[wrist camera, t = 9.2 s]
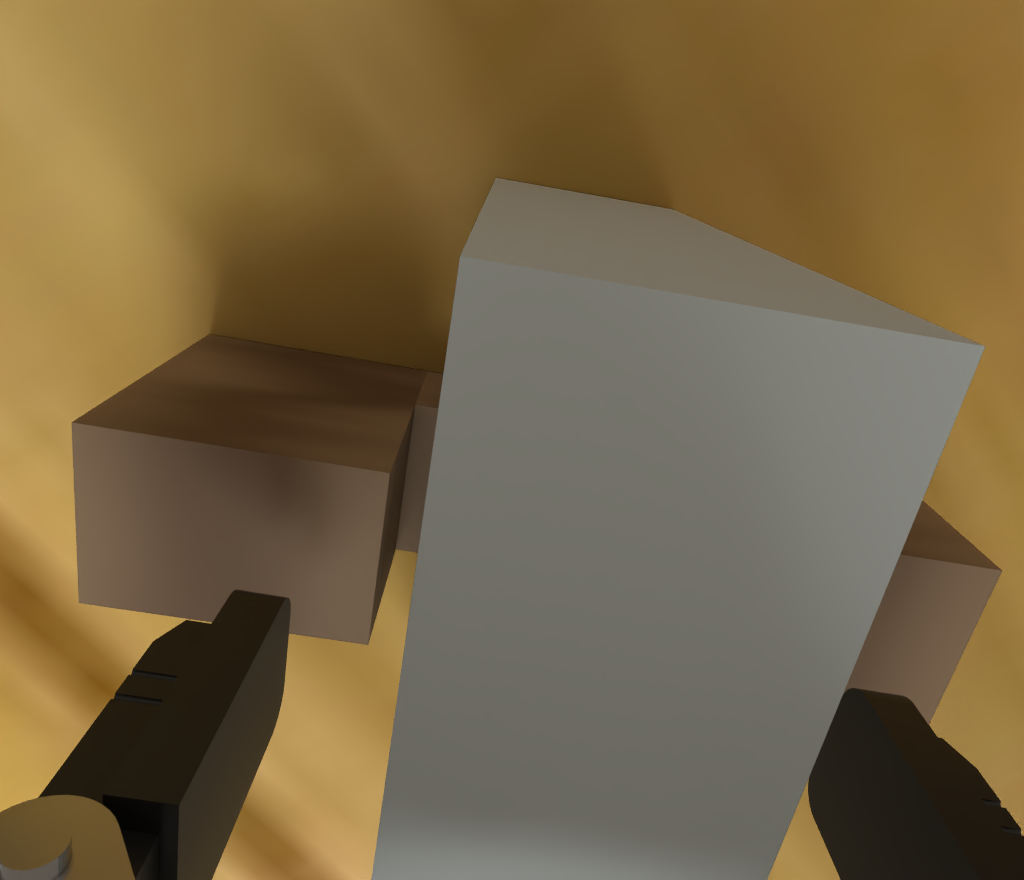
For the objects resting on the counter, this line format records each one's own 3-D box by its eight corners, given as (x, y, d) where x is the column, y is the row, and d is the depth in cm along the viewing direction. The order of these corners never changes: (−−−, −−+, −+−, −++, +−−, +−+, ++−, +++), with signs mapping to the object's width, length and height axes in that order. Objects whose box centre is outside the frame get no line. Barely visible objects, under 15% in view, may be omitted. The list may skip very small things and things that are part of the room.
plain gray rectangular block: (673, 209, 17) (984, 345, 6) (561, 678, 22) (613, 1255, 10) (496, 177, 17) (459, 256, 6) (421, 659, 21) (321, 1228, 10)
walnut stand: (858, 443, 19) (1002, 571, 13) (813, 564, 20) (928, 726, 15) (209, 334, 18) (71, 422, 12) (205, 468, 19) (79, 602, 14)
